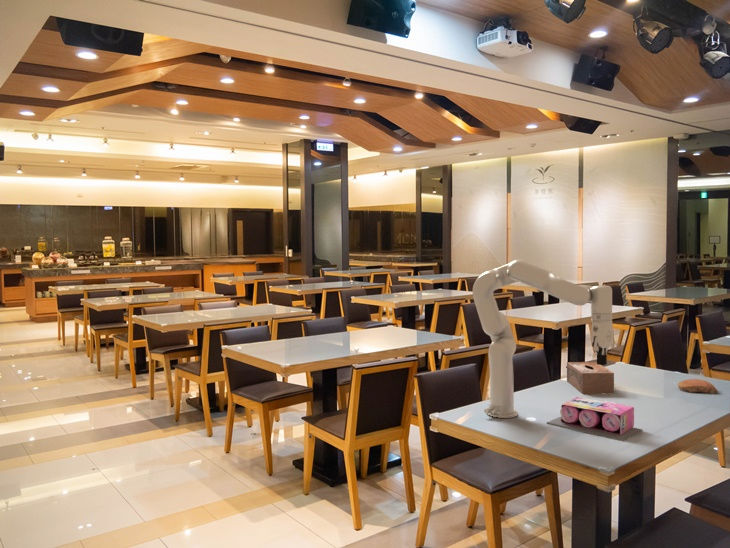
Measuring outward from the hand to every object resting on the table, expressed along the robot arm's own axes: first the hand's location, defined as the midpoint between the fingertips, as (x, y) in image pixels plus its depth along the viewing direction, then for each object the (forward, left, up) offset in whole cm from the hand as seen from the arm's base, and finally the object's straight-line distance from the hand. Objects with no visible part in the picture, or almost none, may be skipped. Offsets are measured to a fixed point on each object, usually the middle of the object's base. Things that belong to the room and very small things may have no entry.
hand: (601, 364), depth 230 cm
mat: (-7, 0, -23) cm, 24 cm away
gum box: (+2, 0, -19) cm, 19 cm away
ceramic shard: (+79, -7, -24) cm, 83 cm away
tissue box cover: (+51, +31, -24) cm, 64 cm away
